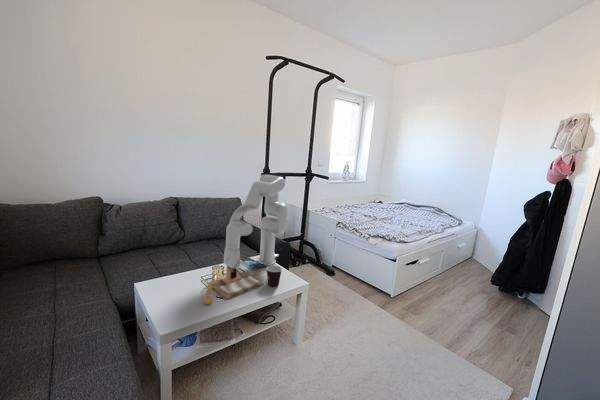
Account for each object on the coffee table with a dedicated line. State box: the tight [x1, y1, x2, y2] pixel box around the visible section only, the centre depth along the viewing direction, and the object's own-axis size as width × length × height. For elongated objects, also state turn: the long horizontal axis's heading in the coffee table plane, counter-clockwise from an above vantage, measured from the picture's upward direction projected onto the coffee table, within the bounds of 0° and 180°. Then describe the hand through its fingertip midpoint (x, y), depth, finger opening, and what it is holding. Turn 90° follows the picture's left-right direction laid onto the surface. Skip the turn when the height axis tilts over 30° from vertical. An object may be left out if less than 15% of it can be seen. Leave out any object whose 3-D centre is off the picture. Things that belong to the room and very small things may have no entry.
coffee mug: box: [266, 264, 283, 288], centre depth 160 cm, size 12×9×10 cm
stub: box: [219, 267, 242, 284], centre depth 158 cm, size 10×7×7 cm
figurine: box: [199, 282, 218, 305], centre depth 134 cm, size 8×6×12 cm
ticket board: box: [209, 271, 264, 301], centre depth 155 cm, size 24×18×3 cm
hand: (231, 276), depth 158 cm, fingers closed on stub, 3 cm apart
